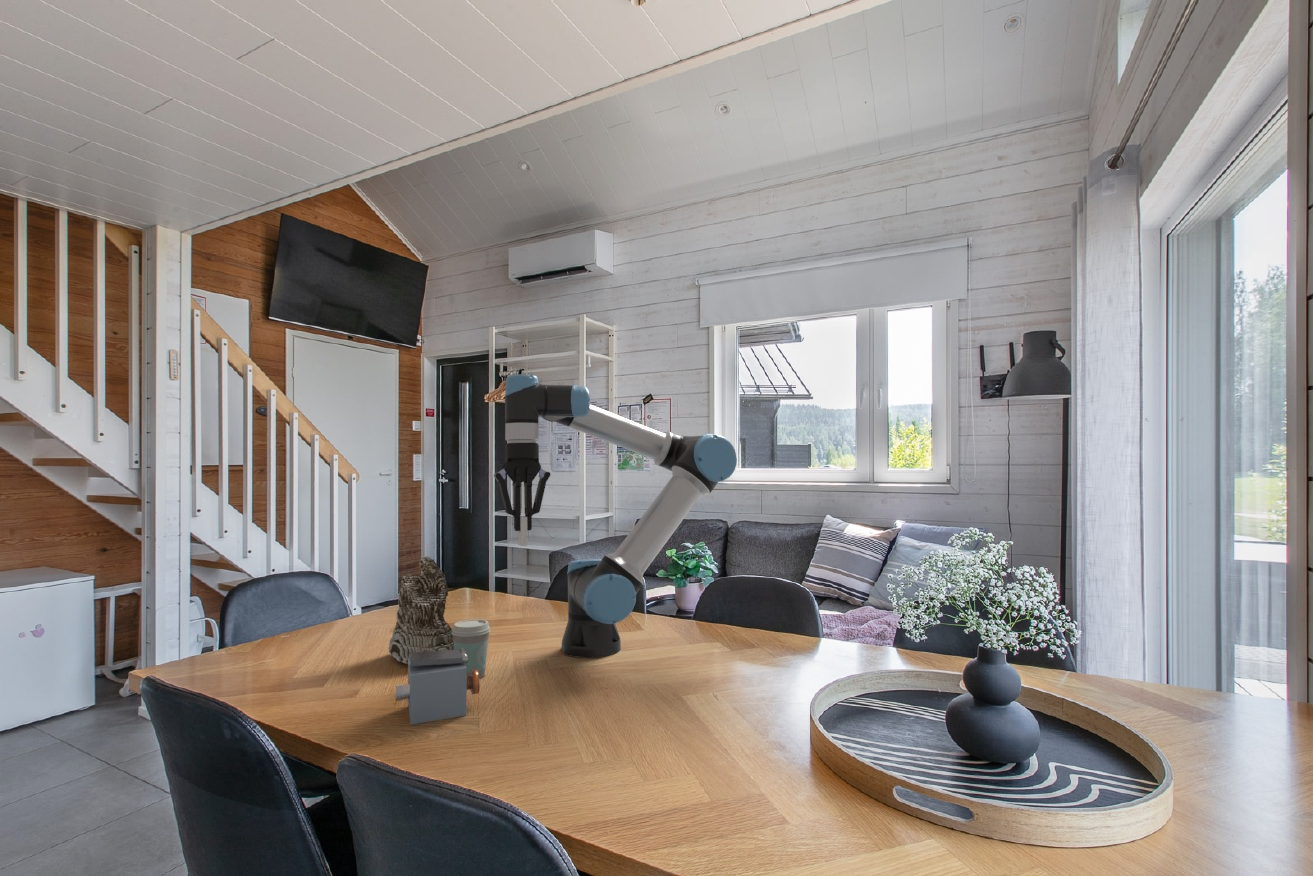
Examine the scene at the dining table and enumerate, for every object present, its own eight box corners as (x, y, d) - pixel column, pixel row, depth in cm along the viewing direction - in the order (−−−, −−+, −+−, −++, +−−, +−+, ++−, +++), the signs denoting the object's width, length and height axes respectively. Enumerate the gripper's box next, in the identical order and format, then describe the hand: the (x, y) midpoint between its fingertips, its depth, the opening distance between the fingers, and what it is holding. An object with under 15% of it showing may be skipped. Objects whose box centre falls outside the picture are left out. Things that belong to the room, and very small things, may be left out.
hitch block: (460, 698, 133) (460, 654, 133) (466, 715, 124) (466, 668, 124) (408, 706, 129) (408, 660, 129) (410, 724, 120) (410, 675, 120)
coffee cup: (480, 684, 142) (479, 628, 142) (444, 681, 143) (444, 627, 144) (497, 671, 150) (497, 619, 150) (463, 669, 152) (463, 617, 152)
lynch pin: (476, 689, 132) (476, 666, 132) (479, 696, 128) (479, 673, 128) (395, 701, 126) (395, 677, 126) (396, 709, 122) (396, 685, 122)
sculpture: (376, 658, 162) (376, 557, 163) (427, 645, 172) (427, 551, 173) (418, 674, 149) (418, 564, 150) (470, 659, 159) (470, 557, 160)
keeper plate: (464, 654, 132) (464, 648, 132) (468, 663, 126) (468, 656, 126) (408, 657, 128) (409, 651, 128) (410, 666, 122) (411, 660, 122)
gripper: (545, 442, 155) (546, 541, 154) (490, 442, 150) (491, 545, 149) (554, 441, 148) (555, 545, 148) (496, 441, 143) (497, 549, 142)
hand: (522, 545), depth 148 cm, fingers closed
